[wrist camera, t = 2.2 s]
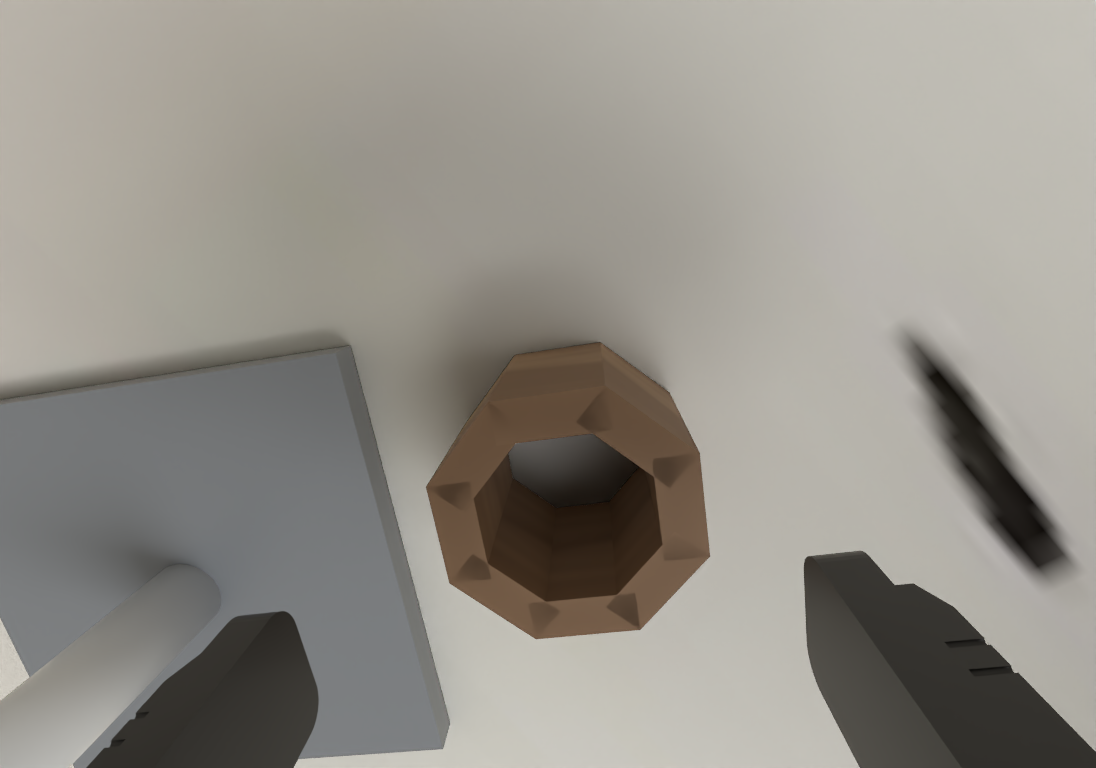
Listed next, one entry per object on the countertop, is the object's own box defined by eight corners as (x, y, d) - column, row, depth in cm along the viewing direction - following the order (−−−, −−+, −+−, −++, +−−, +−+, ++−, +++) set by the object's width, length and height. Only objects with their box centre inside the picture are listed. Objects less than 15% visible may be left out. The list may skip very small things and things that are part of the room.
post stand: (350, 345, 16) (80, 479, 8) (450, 723, 20) (344, 1106, 11) (-61, 409, 18) (-677, 581, 9) (100, 749, 21) (-230, 1104, 13)
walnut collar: (662, 333, 16) (691, 373, 11) (683, 522, 17) (717, 622, 13) (455, 363, 16) (407, 412, 12) (494, 543, 18) (464, 645, 13)
